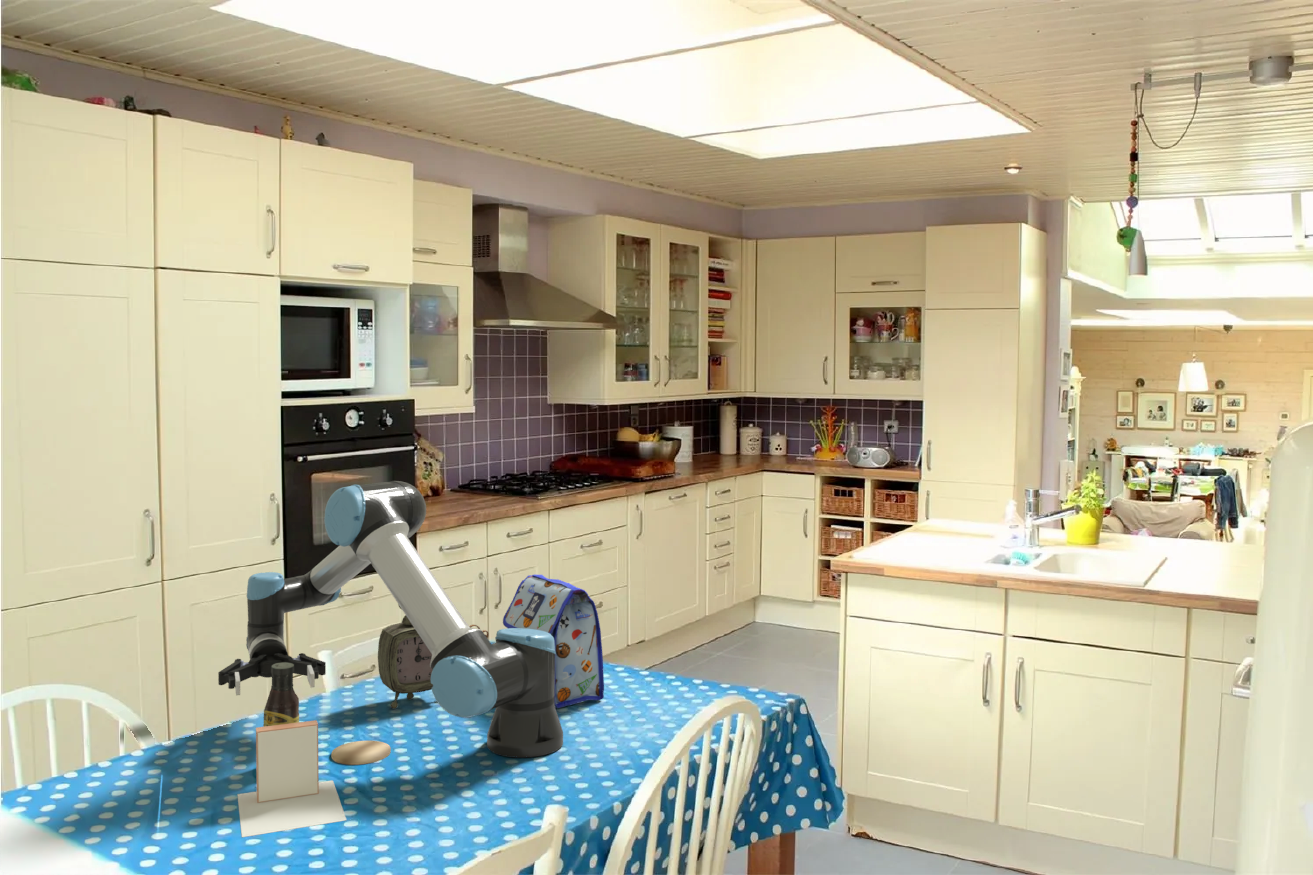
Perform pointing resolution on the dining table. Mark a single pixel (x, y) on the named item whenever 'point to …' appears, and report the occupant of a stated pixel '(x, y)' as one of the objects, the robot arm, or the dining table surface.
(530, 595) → the lunch bag
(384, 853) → the dining table surface
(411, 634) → the tabletop clock
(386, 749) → the cork coaster
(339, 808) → the white mat
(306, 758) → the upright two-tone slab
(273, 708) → the sauce bottle
